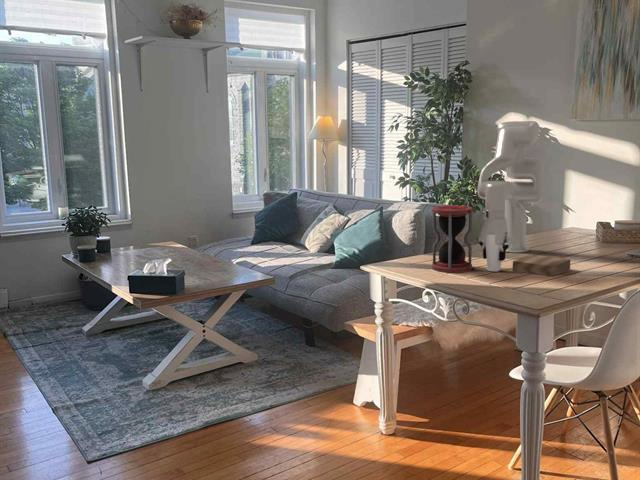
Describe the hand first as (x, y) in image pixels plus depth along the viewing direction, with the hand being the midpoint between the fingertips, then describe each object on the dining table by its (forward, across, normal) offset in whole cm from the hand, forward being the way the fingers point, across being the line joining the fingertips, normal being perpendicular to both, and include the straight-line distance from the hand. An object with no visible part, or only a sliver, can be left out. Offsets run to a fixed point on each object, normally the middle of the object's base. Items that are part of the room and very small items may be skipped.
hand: (493, 259), depth 249 cm
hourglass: (+5, -15, -7) cm, 17 cm away
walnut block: (+5, +14, +12) cm, 19 cm away
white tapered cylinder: (+5, 0, 0) cm, 5 cm away
